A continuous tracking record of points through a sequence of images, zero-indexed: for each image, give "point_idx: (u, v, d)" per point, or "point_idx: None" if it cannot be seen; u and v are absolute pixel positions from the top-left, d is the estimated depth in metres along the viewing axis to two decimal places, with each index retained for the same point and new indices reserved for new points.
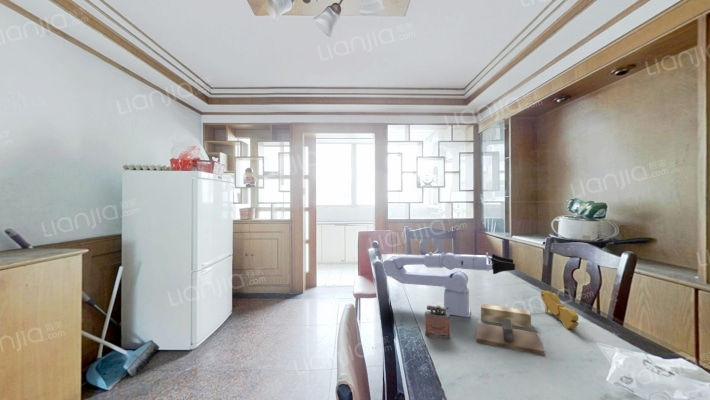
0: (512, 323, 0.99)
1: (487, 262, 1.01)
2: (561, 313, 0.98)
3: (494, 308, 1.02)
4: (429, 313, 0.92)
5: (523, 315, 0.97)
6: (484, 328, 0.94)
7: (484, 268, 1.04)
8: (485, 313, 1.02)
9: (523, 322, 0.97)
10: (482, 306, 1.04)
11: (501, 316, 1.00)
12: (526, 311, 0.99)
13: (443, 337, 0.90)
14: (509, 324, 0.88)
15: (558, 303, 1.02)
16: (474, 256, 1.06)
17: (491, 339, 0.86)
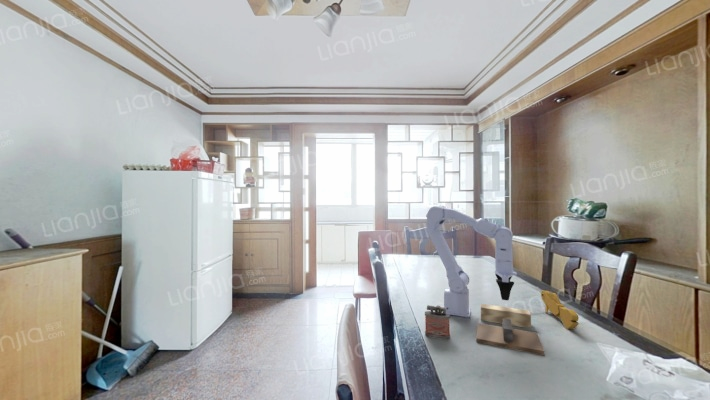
0: (512, 323, 0.99)
1: (509, 276, 0.96)
2: (561, 313, 0.98)
3: (494, 308, 1.02)
4: (429, 313, 0.92)
5: (523, 315, 0.97)
6: (484, 328, 0.94)
7: (499, 270, 1.00)
8: (485, 313, 1.02)
9: (523, 322, 0.97)
10: (482, 306, 1.04)
11: (501, 316, 1.00)
12: (526, 311, 0.99)
13: (443, 337, 0.90)
14: (509, 324, 0.88)
15: (558, 303, 1.02)
16: (512, 261, 0.99)
17: (491, 339, 0.86)
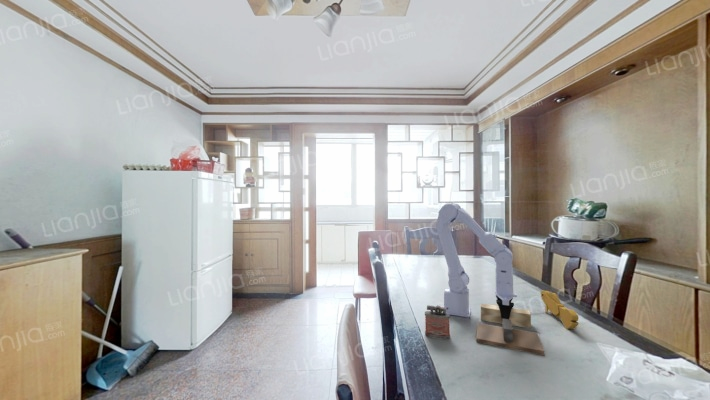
0: (512, 323, 0.99)
1: (509, 299, 0.96)
2: (561, 313, 0.98)
3: (494, 308, 1.02)
4: (429, 313, 0.92)
5: (523, 315, 0.97)
6: (484, 328, 0.94)
7: (499, 292, 1.00)
8: (485, 312, 1.02)
9: (523, 321, 0.97)
10: (482, 306, 1.04)
11: None
12: (526, 311, 0.99)
13: (443, 337, 0.90)
14: (509, 324, 0.88)
15: (558, 303, 1.02)
16: (512, 283, 0.99)
17: (491, 339, 0.86)
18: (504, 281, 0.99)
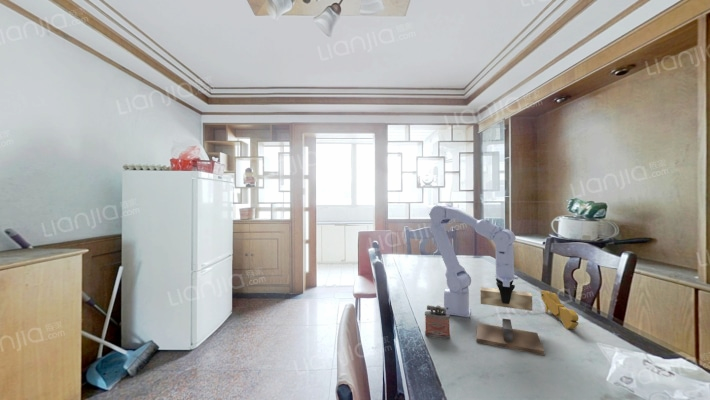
0: (513, 305, 0.95)
1: (510, 281, 0.93)
2: (561, 313, 0.98)
3: (494, 290, 0.99)
4: (429, 313, 0.92)
5: (524, 297, 0.94)
6: (484, 328, 0.94)
7: (499, 274, 0.97)
8: (485, 295, 0.99)
9: (524, 304, 0.94)
10: (482, 289, 1.01)
11: None
12: (527, 293, 0.96)
13: (443, 337, 0.90)
14: (509, 324, 0.88)
15: (558, 303, 1.02)
16: (513, 265, 0.96)
17: (491, 339, 0.86)
18: (502, 262, 0.96)
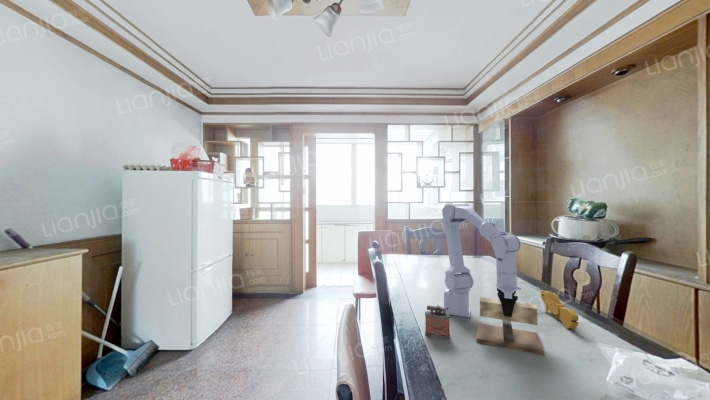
0: (516, 319, 0.86)
1: (512, 292, 0.83)
2: (561, 313, 0.98)
3: (495, 302, 0.89)
4: (429, 313, 0.92)
5: (528, 309, 0.84)
6: (484, 328, 0.94)
7: (501, 284, 0.87)
8: (485, 307, 0.90)
9: (528, 317, 0.84)
10: (481, 300, 0.91)
11: None
12: (531, 305, 0.86)
13: (443, 337, 0.90)
14: (509, 324, 0.88)
15: (558, 303, 1.02)
16: (515, 274, 0.87)
17: (491, 339, 0.86)
18: (500, 270, 0.88)
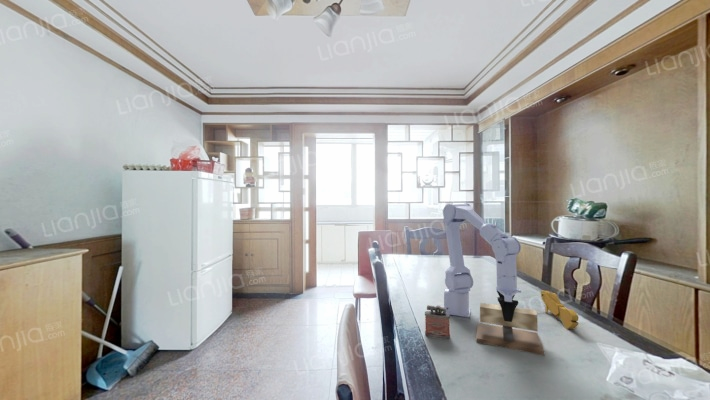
0: (516, 325, 0.86)
1: (512, 295, 0.83)
2: (561, 313, 0.98)
3: (495, 307, 0.89)
4: (429, 313, 0.92)
5: (528, 316, 0.84)
6: (484, 328, 0.94)
7: (501, 287, 0.87)
8: (485, 313, 0.90)
9: (528, 323, 0.84)
10: (481, 305, 0.91)
11: None
12: (532, 311, 0.86)
13: (443, 337, 0.90)
14: None
15: (558, 303, 1.02)
16: (515, 277, 0.87)
17: (491, 339, 0.86)
18: (500, 273, 0.88)
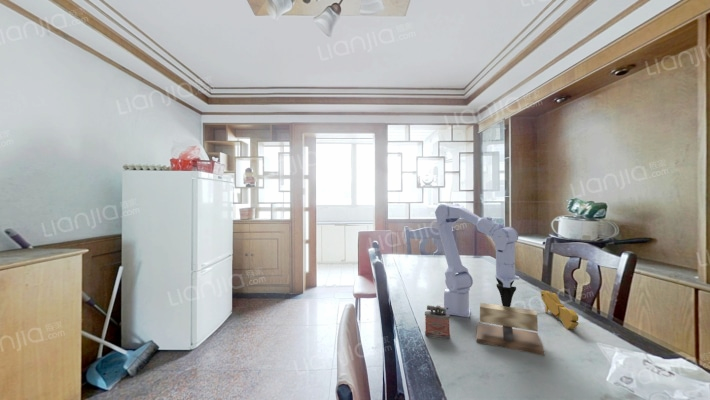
0: (516, 325, 0.86)
1: (510, 281, 0.88)
2: (561, 313, 0.98)
3: (495, 307, 0.89)
4: (429, 313, 0.92)
5: (528, 316, 0.84)
6: (484, 328, 0.94)
7: (500, 274, 0.92)
8: (485, 313, 0.90)
9: (528, 323, 0.84)
10: (481, 305, 0.91)
11: (503, 317, 0.87)
12: (532, 311, 0.86)
13: (443, 337, 0.90)
14: None
15: (558, 303, 1.02)
16: (514, 264, 0.91)
17: (491, 339, 0.86)
18: (501, 261, 0.91)
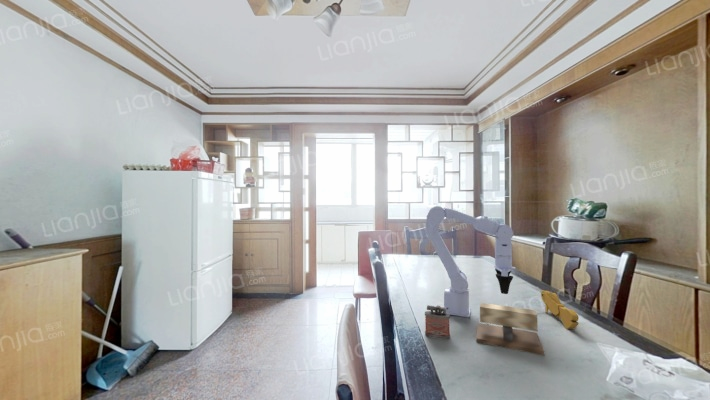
0: (516, 325, 0.86)
1: (508, 271, 1.00)
2: (561, 313, 0.98)
3: (495, 307, 0.89)
4: (429, 313, 0.92)
5: (528, 316, 0.84)
6: (484, 328, 0.94)
7: (498, 265, 1.04)
8: (485, 313, 0.90)
9: (528, 323, 0.84)
10: (481, 305, 0.91)
11: (503, 317, 0.87)
12: (532, 311, 0.86)
13: (443, 337, 0.90)
14: None
15: (558, 303, 1.02)
16: (511, 256, 1.03)
17: (491, 339, 0.86)
18: (505, 254, 1.02)
